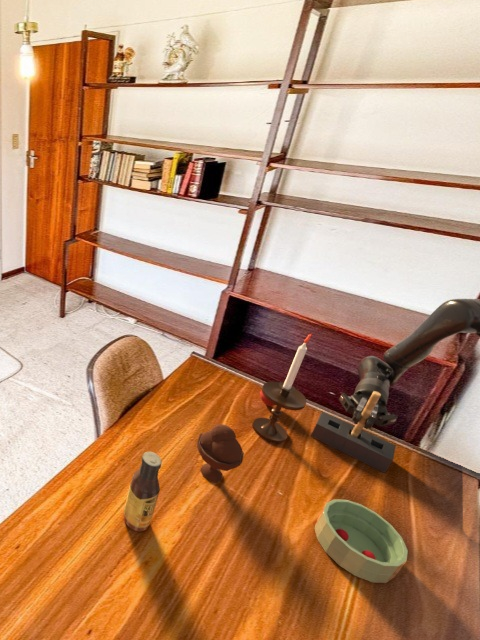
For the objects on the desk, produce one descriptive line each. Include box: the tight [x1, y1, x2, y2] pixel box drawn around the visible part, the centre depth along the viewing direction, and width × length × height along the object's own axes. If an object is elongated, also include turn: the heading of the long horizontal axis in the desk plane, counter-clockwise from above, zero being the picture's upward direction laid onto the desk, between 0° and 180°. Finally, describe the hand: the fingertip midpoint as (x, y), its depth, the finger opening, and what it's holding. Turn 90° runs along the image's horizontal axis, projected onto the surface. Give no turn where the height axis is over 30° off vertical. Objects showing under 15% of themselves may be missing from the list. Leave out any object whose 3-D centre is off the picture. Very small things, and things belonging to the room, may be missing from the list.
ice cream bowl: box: [196, 424, 245, 483], centre depth 102 cm, size 11×11×15 cm
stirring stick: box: [350, 391, 381, 438], centre depth 110 cm, size 2×2×20 cm
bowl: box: [314, 498, 409, 584], centre depth 87 cm, size 14×14×6 cm
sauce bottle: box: [123, 451, 163, 533], centre depth 88 cm, size 6×6×20 cm
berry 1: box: [336, 529, 349, 541], centre depth 89 cm, size 2×2×2 cm
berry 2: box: [362, 550, 376, 560], centre depth 85 cm, size 2×2×2 cm
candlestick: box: [251, 333, 313, 444], centre depth 111 cm, size 11×11×35 cm
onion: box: [259, 389, 276, 407], centre depth 128 cm, size 6×6×8 cm
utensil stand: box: [310, 411, 397, 474], centre depth 114 cm, size 17×7×5 cm, turn 44°
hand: (361, 423), depth 108 cm, fingers closed on stirring stick, 1 cm apart
